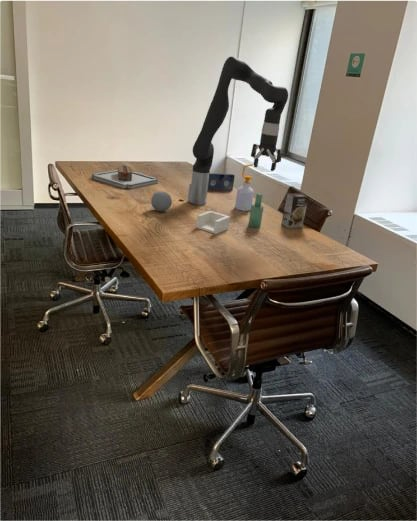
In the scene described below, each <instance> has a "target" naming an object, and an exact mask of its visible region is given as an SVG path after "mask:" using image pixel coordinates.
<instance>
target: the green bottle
mask: <svg viewBox="0 0 417 521" xmlns="http://www.w3.org/2000/svg"><path fill="white" fill-rule="evenodd" d="M262 202H263V193H260V192H259V193H256V195H255V201H254V204H252V205H251V210H249V211H250V213H249V217H248V225H247V226H248V227H250V228H252V229H259V228H261V225H262V219H263V216H264V215H263V214H264V213H263V212H264V208H265V206H263V205H262Z"/></svg>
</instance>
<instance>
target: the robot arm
mask: <svg viewBox="0 0 417 521" xmlns="http://www.w3.org/2000/svg"><path fill="white" fill-rule="evenodd" d="M232 79H233V80H235V81H241V82H243V83H246V84H248V85H249V86H250V88H251V89H252V90H253V91H255V92H257V94H259V95H261V97H262V98H263V100H264V101H266V102H267V103H271V104H273V105H272V107H270V108H267V109H266V110H265V112H264V120H263V125H262V126H261V127H262V128H261V134H260V141H259V144H258V143H253V144H252V149H251V153H250V157H251V158H253V167H254V168H258V166H259V158H260V157H261V156H262V157H263V156H265V157H268V158H269V159H270V160H271V161H272V163H271V168H270V171H271V172H274V171H275V170H276V167H277V163H281V162H282V155H283V149H282V148H277V144H278V143H277V142H278V137H279V132H280V123H281V117H282V113H283V112H284V109H285V106H286V104H287V102H288V99H289V91H288V89H287V87H285V86H281V85H274V84H273V82H272V81H271V79H268V78H267V77H265V76H263V75H262V74H260V73H258V72H257V71H255V70H254V69H253V68H252V67H251V66H250V65H249V64H248V63H247V62H246V61H245V60H243V59H240V58H238V57H235V56H228V57H227V58H226V60H225V61H224V63H223V66H222V69H221V72H220V76H219V80H218V82H217V86H216V88H215V89H216V90H215V92H214V95H213V97H212V100H211V102H210V104H209V107H208V109H207V112H206V116H205V118H204V121H203V122H202V123H203V124H202V126H201V129H200V132H199V134H198V135H197V136H198V137H197V138H196V140H195V141H194V144H193V146H192V154H193V156H194V158H195V162H194V163H193V165H192V172H191V181H190V183H189V185H188V193H187V202H188V203H190V204H193V205H199V206H203V205H206V204H207V196H208V191H209V190H208V182H209V174H210V172H211V168H212V166H213V159H214V153H215V149H214V148H215V147H214V145H213V142H212V141H213V139H214V137H215V134H216V133H217V132H218V130H219V129H220V127H221V126H222V125H223V124H224V121H225V119H226V117H227V114H228V112H229V108H230V100H229V99H230V98H229V87H230V84H231V81H232ZM257 150H259V151H257ZM275 153H276V155H275Z"/></svg>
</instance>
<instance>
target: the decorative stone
mask: <svg viewBox="0 0 417 521" xmlns="http://www.w3.org/2000/svg"><path fill="white" fill-rule="evenodd" d="M150 202H151V205H152V208H153V209H154V210H156V211H157V212H161V213H163V212H166V211H168V210H169V209H170V208H171V205H172V202H173V201H172V197H171V195H170V194H169V193H168V192H167V191H163V190H162V191H161V190H160V191H156V192H154V194H153V195H152V196H151V200H150Z"/></svg>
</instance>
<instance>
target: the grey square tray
mask: <svg viewBox="0 0 417 521" xmlns="http://www.w3.org/2000/svg"><path fill="white" fill-rule="evenodd" d="M91 180H93V181H96V182H100V183H103V184H106V185H109V186H113V187H115V188H118V189H122V190H126V189H127V190H135V189H141V188H143V187H149V186H153V185H157V184H158V183H159V179H158V177H156V176H155V177H154V176H151V175H147V174H144V173H141V172H137V171H134V170H132V167H131V166H127V165H118V166H117V169H113V170H107V171H106V170H105V171H102V172H95V173H91Z"/></svg>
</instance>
